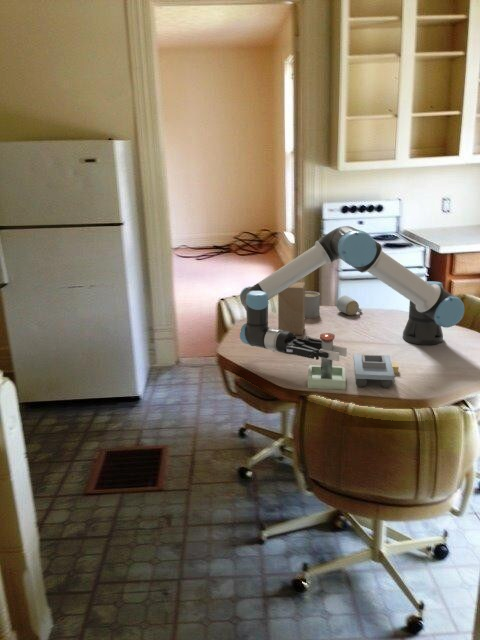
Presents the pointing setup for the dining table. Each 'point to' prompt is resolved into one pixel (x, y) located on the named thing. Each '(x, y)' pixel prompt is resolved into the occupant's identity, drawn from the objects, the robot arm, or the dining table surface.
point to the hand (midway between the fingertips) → (342, 354)
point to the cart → (374, 369)
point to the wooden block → (292, 309)
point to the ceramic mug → (348, 305)
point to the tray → (334, 383)
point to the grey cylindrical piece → (312, 304)
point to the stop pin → (325, 363)
